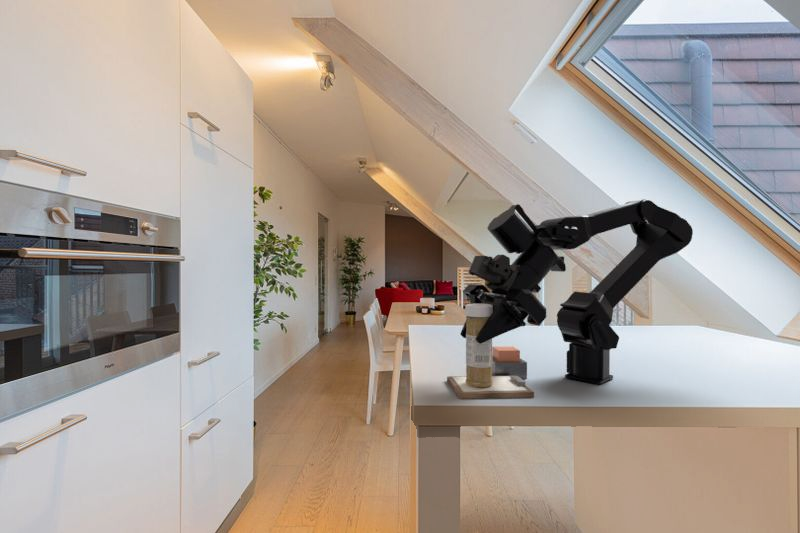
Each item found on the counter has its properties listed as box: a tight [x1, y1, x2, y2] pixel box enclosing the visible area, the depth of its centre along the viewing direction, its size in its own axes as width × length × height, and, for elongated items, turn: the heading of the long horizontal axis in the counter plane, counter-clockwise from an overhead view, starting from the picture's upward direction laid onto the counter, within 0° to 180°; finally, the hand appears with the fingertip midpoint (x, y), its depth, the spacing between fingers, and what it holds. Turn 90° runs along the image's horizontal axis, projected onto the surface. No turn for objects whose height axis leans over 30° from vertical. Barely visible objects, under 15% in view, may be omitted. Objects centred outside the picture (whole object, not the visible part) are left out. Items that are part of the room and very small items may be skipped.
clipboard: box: [446, 375, 535, 400], centre depth 76 cm, size 12×10×2 cm
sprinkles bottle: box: [464, 303, 493, 387], centre depth 75 cm, size 5×5×14 cm
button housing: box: [492, 356, 528, 380], centre depth 85 cm, size 6×6×3 cm
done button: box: [492, 345, 521, 362], centre depth 85 cm, size 4×4×3 cm
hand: (469, 338), depth 75 cm, fingers open, 5 cm apart
